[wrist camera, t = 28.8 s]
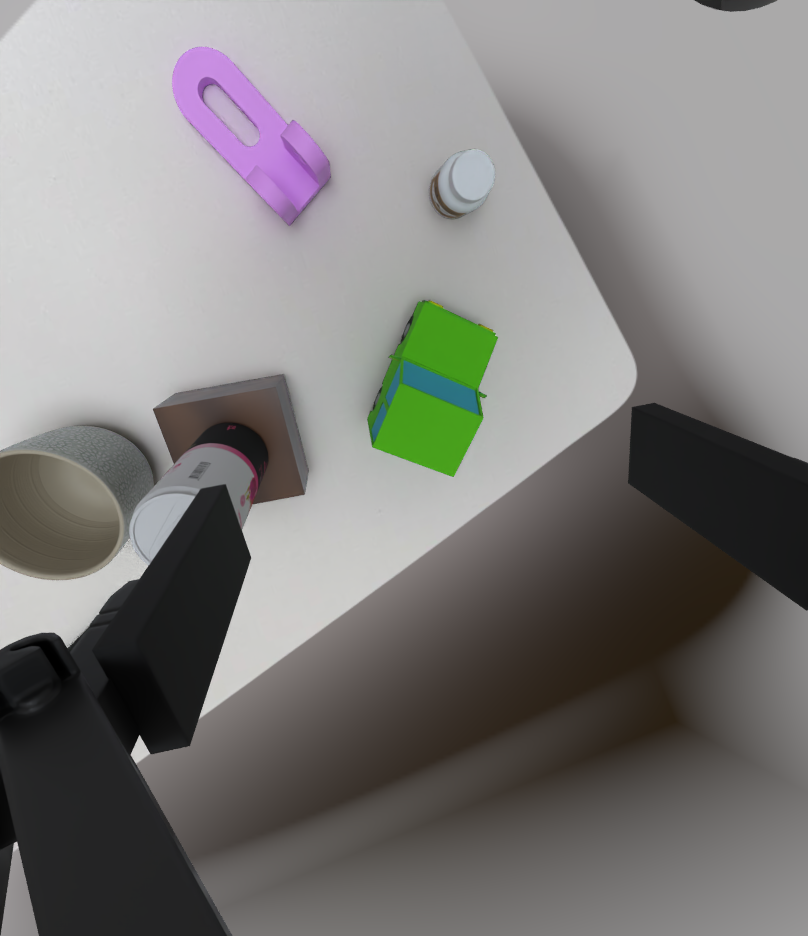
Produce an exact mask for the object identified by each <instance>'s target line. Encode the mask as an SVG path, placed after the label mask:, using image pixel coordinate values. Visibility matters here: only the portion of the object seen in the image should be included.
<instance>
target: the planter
mask: <svg viewBox="0 0 808 936" xmlns="http://www.w3.org/2000/svg"><path fill="white" fill-rule="evenodd" d="M153 485H154V483H153V475H152V471H151V468H150V465H149V463H148V461H147V460H146V458H145V456H144V455H143V454H142V452H141V451H140V450H139V449H138V448H137V447H136V446H135V445H134V444H133V443H132V442H130V441H129V440H127V439H126V438H124V437H123V436H121V435H119V434H117V433H115V432H112V431H110V430H107V429H103V428H99V427H93V426H72V427H66V428H61V429H57V430H54V431H50V432H47V433H44V434H41V435H38V436H36V437H33V438H30V439H28V440H25V441H22V442H20V443H17V444H15V445H12V446H10V447H7V448H5V449H3V450H1V451H0V564H1V565H3V566H5V567H7V568H9V569H11V570H13V571H16V572H18V573H21V574H24V575H27V576H30V577H35V578H40V579H47V580H69V579H76V578H80V577H84V576H87V575H90V574H92V573H95V572H97V571H98V570H100V569H102V568H103V567H105V566H106V565H107V564H108V563H109V562H110V561H111V560H112V559H113V558H114V557H115V556H116V555H117V554H118V553H119V551H120V550H121V549H122V547H123V546H124V545H125V543H126V542H127V540H128V539H129V538H130V535H129V528H130V522H131V519H132V516H133V513H134V510H135V508H136V507H137V505H138V504H139V502H140V501H141V500H142V499H143V498H144V497H145V496H146V495H147V494H148V492H149V491H150V490H151V489H152V488H153Z"/></svg>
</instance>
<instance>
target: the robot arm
mask: <svg viewBox="0 0 808 936" xmlns="http://www.w3.org/2000/svg"><path fill="white" fill-rule="evenodd" d="M630 438H631V439H630V457H629V458H630V459H629V480H628V483H629V484H630V485H632V486H633V487H634V488H636V489H637V490H639V491H640V492H641V493H643V494H644V495H646V496H647V497H649V498H650V499H651V500H653V501H654V502H655V503H657V504H658V505H660V506H661V507H662V508H664V509H665V510H666V511H668V512H670V513H671V514H672V515H674V516H675V517H676V518H678V519H679V520H681V521H682V522H683V523H685V524H686V525H687V526H689V527H690V528H692V529H693V530H695V531H696V532H697V533H699V534H700V535H702V536H703V537H704V538H706V539H707V540H709V541H710V542H711V543H713V544H714V545H715V546H717V547H718V548H720V549H721V550H722V551H724V552H725V553H727V554H728V555H729V556H731V557H732V558H734V559H735V560H736V561H738V562H739V563H741V564H742V565H743V566H745V567H746V568H748V569H749V570H750V571H752V572H753V573H755V574H756V575H758V576H759V577H760V578H762V579H763V580H764V581H766V582H767V583H769V584H770V585H772V586H773V587H774V588H776V589H777V590H779V591H780V592H781V593H783V594H784V595H785V596H787V597H788V598H790V599H791V600H792V601H794V602H795V603H797V604H798V605H799V606H801V607H802V608H804V609H805V610H808V463H807V462H804V461H802V460H799V459H796V458H792V457H789V456H786V455H784V454H782V453H779V452H777V451H774V450H771V449H769V448H767V447H764V446H761V445H759V444H757V443H754V442H752V441H749V440H746V439H744V438H741V437H739V436H736V435H734V434H731V433H729V432H726V431H724V430H721V429H719V428H716V427H713V426H711V425H709V424H706V423H704V422H701V421H699V420H696V419H694V418H691V417H689V416H686V415H683V414H681V413H679V412H676V411H673V410H671V409H669V408H666V407H663V406H661V405H658V404H656V403H651V404H646V405H641V406H636V407H632V418H631V437H630ZM250 560H251V556H250V553H249V550H248V547H247V544H246V541H245V538H244V536H243V533H242V530H241V527H240V524H239V521H238V518H237V515H236V512H235V509H234V506H233V504H232V501H231V498H230V495H229V492H228V489H227V486H226V484H222V485H217V486H212V487H207V488H201V489H200V490H199V492H198V493H197V495H196V496H195V498H194V499H193V501H192V502H191V504H190V505H189V507H188V508H187V510H186V511H185V513H184V514H183V516H182V517H181V519H180V520H179V522H178V523H177V525H176V526H175V528H174V529H173V530H172V532H171V533H170V535H169V536H168V538H167V539H166V541H165V542H164V544H163V545H162V547H161V548H160V550H159V551H158V553H157V554H156V556H155V557H154V559H153V560H152V562H151V563H150V565H149V566H148V568H147V569H146V570H145V572H144V573H143V575H142V576H141V578H140V579H138V580H133V581H129V582H128V583H126V584H125V585H124V586H123V587H121V588H120V589H119V590H118V591H117V592H115V593H114V594H113V595H112V596H111V597H110V598H109V599H108V601H107V602H106V603H105V605H104V606H103V608H102V609H101V610H100V612H99V615H97V616H96V617H95V619H94V620H93V621H92V623H91V624H90V628H88V629H87V630H86V631H85V632H84V634H83V635H82V636H81V638H80V639H79V640H78V642H77V643H76V645H75V646H74V647H73V649H72V650H71V651H70V652H69V651H68V649H67V647H66V646H65V644H64V642H63V640H62V639H61V637H60V636H58V635H57V634H55V633H40V634H36V635H32V636H28V637H25V638H23V639H21V640H18V641H16V642H14V643H12V644H9V645H8V646H6V647H4V648H3V649H1V650H0V935H1V928H2V921H3V914H4V907H5V900H6V893H7V887H8V880H9V873H10V866H11V859H12V852H13V845H14V843H15V842H18V847H19V851H20V855H21V859H22V863H23V868H24V873H25V877H26V881H27V885H28V890H29V894H30V899H31V903H32V906H33V912H34V916H35V920H36V924H37V929H38V933H39V936H232V934H231V933H230V931H229V929H228V927H227V925H226V923H225V922H224V920H223V918H222V916H221V915H220V913H219V912H218V909H217V907H216V906H215V904H214V902H213V900H212V899H211V897H210V895H209V893H208V891H207V890H206V888H205V886H204V884H203V883H202V881H201V879H200V877H199V875H198V874H197V872H196V870H195V868H194V867H193V865H192V863H191V861H190V860H189V858H188V856H187V854H186V852H185V851H184V849H183V847H182V845H181V843H180V842H179V840H178V838H177V836H176V835H175V833H174V831H173V829H172V827H171V826H170V824H169V822H168V820H167V819H166V817H165V815H164V813H163V811H162V810H161V808H160V806H159V804H158V802H157V801H156V799H155V797H154V795H153V794H152V792H151V790H150V788H149V786H148V785H147V783H146V781H145V779H144V778H143V776H142V774H141V772H140V770H139V769H138V767H137V765H136V763H135V762H134V760H133V758H132V757H131V752H132V750H133V748H134V746H135V743H136V741H137V739H138V737H139V735H140V736H141V738H142V740H143V742H144V743H145V745H146V747H147V749H148V750H149V752H150V754H155V753H159V752H164V751H169V750H173V749H178V748H182V747H187V746H190V744H191V740H192V737H193V734H194V731H195V728H196V725H197V722H198V719H199V716H200V713H201V710H202V707H203V704H204V701H205V698H206V695H207V692H208V689H209V686H210V682H211V679H212V676H213V673H214V670H215V667H216V664H217V661H218V658H219V655H220V652H221V649H222V646H223V643H224V640H225V637H226V633H227V630H228V627H229V624H230V621H231V618H232V615H233V612H234V609H235V606H236V603H237V600H238V597H239V594H240V591H241V588H242V584H243V581H244V578H245V575H246V572H247V569H248V566H249V563H250Z"/></svg>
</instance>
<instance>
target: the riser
mask: <svg viewBox="0 0 808 936" xmlns="http://www.w3.org/2000/svg"><path fill="white" fill-rule="evenodd" d="M153 411H154V413H155V416H156V418H157V421H158V424H159V426H160V429H161V431H162V434H163V437H164V439H165V442H166V444H167V447H168V450H169V452H170V455H171V457H172V460H173V462H174V464H175V463H176V462H177V461H178V460H179V458H180V457H181V456H182V455H183V454H184V453H185V452H186V451H187V450H188V449H189V447H190V446H191V445H192V444H193V443H194V442H195V441H196V440H197V439H198V438H199V436H200V435H201V434H202V433H203V432H204V431H205V430H207V429H208V428H210V427H211V426H214V425H216V424H220V423H237V424H241V425H244V426H246V427H248V428H250V429H252V430H253V431H254V432H256V433H257V434H258V435H259V436H260V437H261V439H262V440H263V442H264V443H265V445H266V448H267V451H268V466H267V469H266V471H265V474H264V476H263V479H262V481H261V484H260V486H259V489H258V491H257V494H256V496H255V499H254V501H253V504H257V503H263V502H268V501H273V500H278V499H283V498H289V497H294V496H299V495H304V494H305V490H306V484H307V479H308V473H309V470H308V466H307V462H306V458H305V454H304V451H303V447H302V443H301V439H300V435H299V431H298V427H297V423H296V420H295V416H294V412H293V408H292V404H291V400H290V396H289V392H288V389H287V385H286V381H285V377H284V374H282V375H276V376H271V377H265V378H259V379H254V380H248V381H242V382H237V383H231V384H225V385H220V386H214V387H208V388H203V389H197V390H191V391H186V392H180V393H175V394H174V395H172V396H171V397H169V398H168V399H167V400H165V401H164V402H162V403H161V404H159V405H158V406H156V407H155V408H153Z"/></svg>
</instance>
